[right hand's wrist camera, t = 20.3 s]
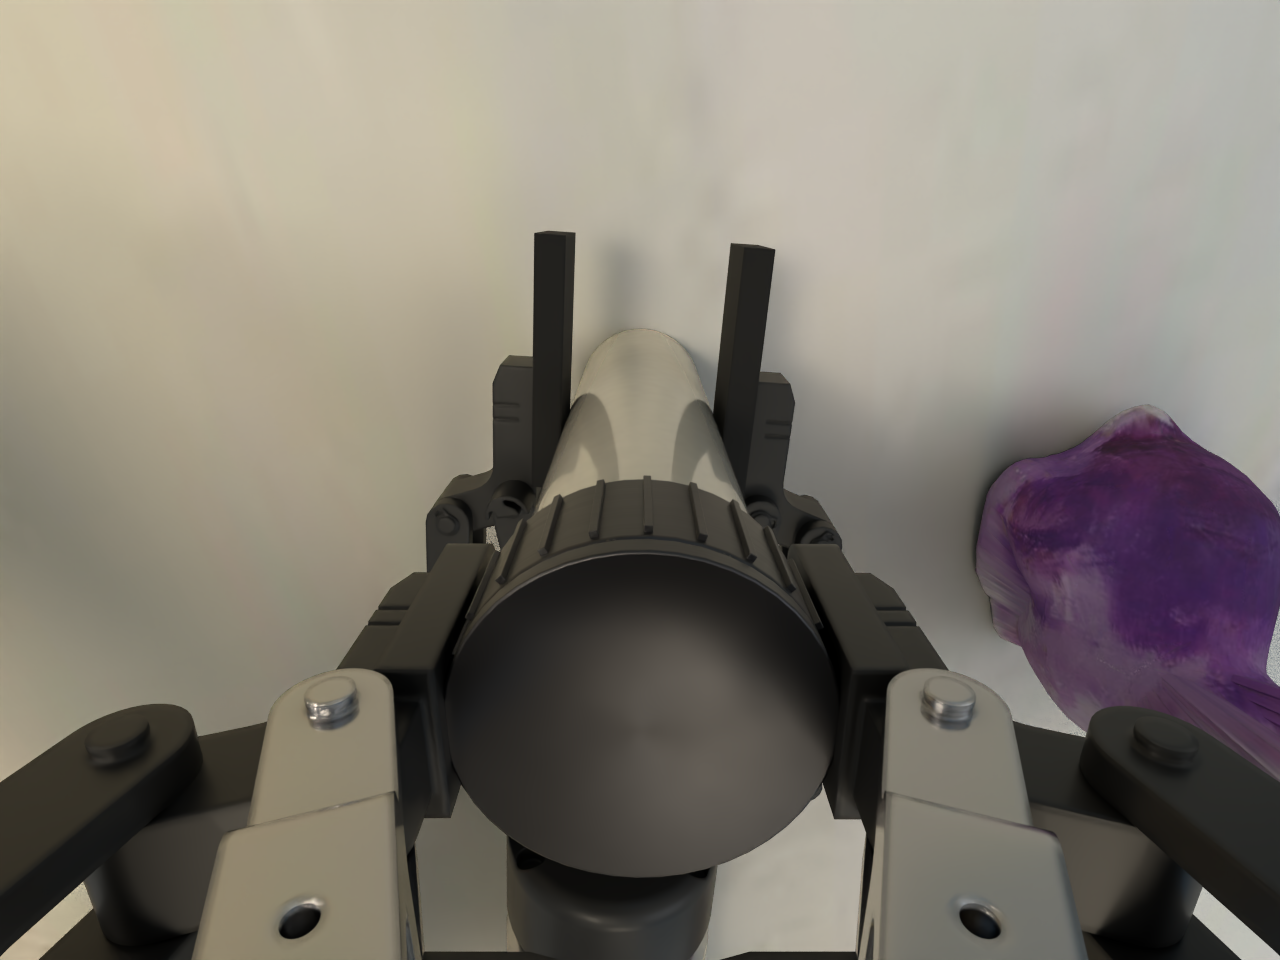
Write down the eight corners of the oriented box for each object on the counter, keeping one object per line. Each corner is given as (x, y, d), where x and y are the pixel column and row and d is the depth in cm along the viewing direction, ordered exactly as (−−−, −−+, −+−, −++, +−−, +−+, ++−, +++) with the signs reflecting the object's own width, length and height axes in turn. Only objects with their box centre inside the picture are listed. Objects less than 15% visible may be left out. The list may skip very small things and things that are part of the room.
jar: (720, 365, 26) (868, 638, 9) (662, 462, 27) (697, 857, 10) (617, 306, 25) (570, 487, 8) (562, 409, 27) (428, 744, 10)
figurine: (1034, 693, 31) (1365, 1095, 17) (904, 530, 28) (1168, 846, 14) (1241, 566, 29) (1822, 906, 15) (1122, 376, 26) (1694, 568, 12)
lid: (550, 417, 10) (523, 476, 8) (866, 552, 11) (927, 644, 8) (434, 693, 11) (383, 810, 9) (714, 794, 12) (731, 925, 10)
